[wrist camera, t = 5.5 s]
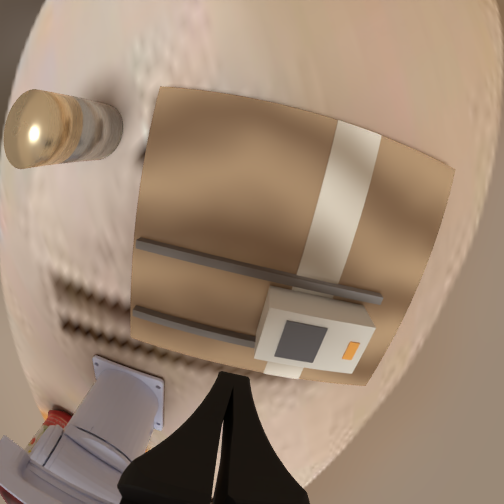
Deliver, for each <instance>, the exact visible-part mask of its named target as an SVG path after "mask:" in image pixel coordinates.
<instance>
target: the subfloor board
mask: <svg viewBox="0 0 504 504" xmlns="http://www.w3.org/2000/svg"><path fill="white" fill-rule="evenodd" d="M454 173H455V169H453V168H452V167H450V166H448V165H446V164H444V163H442V162H440V161H438V160H436V159H434V158H432V157H430V156H428V155H425V154H423V153H421V152H419V151H417V150H415V149H412V148H410V147H408V146H406V145H403V144H401V143H399V142H396V141H394V140H391V139H389V138H386V137H384V136H382V135H379V134H377V133H374V132H372V131H369V130H366V129H363V128H361V127H358V126H355V125H352V124H349V123H346V122H343V121H340V120H336V119H333V118H329V117H326V116H323V115H319V114H316V113H312V112H309V111H305V110H301V109H297V108H293V107H289V106H285V105H281V104H277V103H272V102H268V101H263V100H258V99H253V98H248V97H243V96H237V95H231V94H225V93H218V92H211V91H203V90H195V89H185V88H175V87H161V86H160V89H159V93H158V97H157V101H156V105H155V109H154V114H153V118H152V123H151V127H150V132H149V137H148V142H147V147H146V153H145V158H144V164H143V170H142V176H141V183H140V190H139V197H138V205H137V213H136V223H135V233H134V244H133V258H132V276H131V312H130V326H131V338H133V339H136V340H139V341H142V342H146V343H149V344H152V345H155V346H158V347H161V348H165V349H168V350H171V351H175V352H178V353H182V354H185V355H189V356H193V357H197V358H200V359H204V360H208V361H212V362H216V363H221V364H225V365H229V366H234V367H238V368H243V369H248V370H253V371H258V372H263V373H264V374H269V375H275V376H281V377H287V378H293V379H305V380H312V381H320V382H328V383H337V384H347V385H359V386H366V384H367V383H368V381H369V379H370V378H371V376H372V374H373V373H374V371H375V369H376V368H377V366H378V364H379V363H380V361H381V359H382V357H383V356H384V354H385V352H386V350H387V349H388V347H389V345H390V343H391V341H392V339H393V337H394V335H395V334H396V332H397V330H398V328H399V326H400V324H401V322H402V320H403V318H404V316H405V313H406V311H407V309H408V307H409V305H410V303H411V301H412V298H413V296H414V294H415V292H416V289H417V287H418V285H419V282H420V280H421V277H422V275H423V272H424V270H425V267H426V265H427V262H428V260H429V257H430V254H431V251H432V249H433V246H434V243H435V240H436V237H437V234H438V231H439V228H440V225H441V222H442V218H443V215H444V212H445V208H446V205H447V201H448V197H449V194H450V190H451V186H452V182H453V177H454ZM270 285H271V286H276V287H280V288H284V289H289V290H293V291H298V292H303V293H307V294H312V295H316V296H321V297H326V298H331V299H335V300H340V301H345V302H350V303H355V304H360V305H364V307H365V309H366V311H367V312H368V314H369V316H370V318H371V320H372V321H373V323H374V325H375V327H376V329H375V331H374V333H373V335H372V337H371V339H370V341H369V343H368V345H367V347H366V349H365V351H364V353H363V354H362V356H361V358H360V360H359V362H358V364H357V365H356V367H355V369H354V371H353V373H352V374H349V373H340V372H332V371H324V370H317V369H310V368H304V367H298V366H291V365H286V364H280V363H274V362H269V361H264V360H259V359H254V351H255V340H256V332H257V328H258V325H259V321H260V318H261V314H262V311H263V307H264V304H265V301H266V297H267V293H268V290H269V286H270Z"/></svg>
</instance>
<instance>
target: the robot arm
mask: <svg viewBox="0 0 504 504" xmlns="http://www.w3.org/2000/svg"><path fill="white" fill-rule="evenodd" d="M92 360H93V366H94V371H95V377H96V381H95V383H94V384H93V386H92V387H91V389H90V390H89V392H88V393H87V395H86V396H85V398H84V399H83V401H82V402H81V404H80V405H79V407H78V408H77V410H76V411H75V413H74V415H73V416H72V418H71V419H70V421H69V422H68V424H67V425H66V427H64V428H62V427H61V426H59V425H50V426H49V427H48V428H47V429H46V430H45V432H44V433H43V434H42V436H41V437H40V439H39V440H38V442H37V443H36V445H35V446H34V448H33V449H32V451H31V452H30V454H29V455H28V453H27V452H26V451H25V450H24V449H22V448H21V447H20V446H19V445H17V444H16V443H15V442H13V441H12V440H11V439H9V438H8V437H7V436H3V437H2V439H1V440H0V485H1V486H2V487H3V488H4V489H5V490H7V491H8V492H9V493H10V494H12V495H13V496H14V497H16V498H17V499H18V500H20V501H21V502H22V503H24V504H210V501H211V496H212V488H213V480H214V473H215V466H216V459H217V452H218V445H219V439H220V433H221V427H222V423H223V433H222V446H221V459H220V466H219V471H218V476H217V482H216V487H215V492H214V497H213V502H212V504H310V503H309V498H308V495H307V492H306V491H305V490H304V489H303V488H302V487H301V486H300V485H299V484H298V483H297V481H296V480H295V479H294V478H293V477H292V476H291V474H290V473H289V472H288V471H287V469H286V468H285V466H284V465H283V463H282V462H281V461H280V459H279V458H278V456H277V455H276V453H275V451H274V450H273V448H272V446H271V444H270V442H269V440H268V438H267V436H266V434H265V432H264V430H263V427H262V425H261V422H260V420H259V417H258V414H257V411H256V408H255V404H254V401H253V397H252V392H251V387H250V379H249V378H248V377H246V376H241V375H237V374H232V373H227V372H223V371H221V372H219V374H218V377H217V379H216V381H215V383H214V385H213V387H212V388H211V390H210V392H209V393H208V395H207V396H206V398H205V399H204V400H203V402H202V403H201V404H200V406H199V407H198V408H197V409H196V410H195V412H194V413H193V414H192V415H191V416H190V417H189V418H188V419H187V421H186V422H185V423H184V424H183V425H181V426H180V427H179V428H178V429H177V430H176V431H175V432H174V433H173V434H171V435H170V436H169V437H168V438H166V439H165V440H164V441H162V442H161V443H160V444H158V445H157V446H155V447H154V448H152V449H151V450H149V451H148V452H146V453H145V450H146V448H147V445H148V442H149V440H150V437H151V435H152V432H153V430H154V429H156V430H162V429H163V405H164V381H163V380H162V379H160V378H157V377H154V376H151V375H148V374H145V373H142V372H139V371H136V370H133V369H131V368H128V367H125V366H122V365H120V364H117V363H114V362H112V361H109V360H107V359H104V358H102V357H99V356H97V355H94V357H93V358H92ZM223 420H224V421H223Z"/></svg>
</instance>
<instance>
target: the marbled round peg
mask: <svg viewBox="0 0 504 504" xmlns="http://www.w3.org/2000/svg"><path fill="white" fill-rule="evenodd" d="M122 132H123V122H122V118H121V115H120V113H119V112H118V110H117V109H116V108H114V107H113V106H111V105H108V104H104V103H100V102H96V101H92V100H87V99H83V98H78V97H74V96H69V95H64V94H59V93H53V92H48V91H42V90H36V89H32V90H29V91H27V92H25V93H23V94H22V95H21V96H20V97H19V98H18V99H17V100H16V102H15V103H14V105H13V106H12V108H11V110H10V112H9V115H8V117H7V120H6V124H5V129H4V149H5V153H6V156H7V158H8V160H9V162H10V163H11V164H12V165H13V166H14V167H15V168H18V169H25V168H31V167H38V166H45V165H53V164H61V163H70V162H80V161H91V160H101V159H104V158H106V157H108V156H109V155H110V154H112V152H113V151H114V150H115V149H116V148H117V146H118V144H119V142H120V140H121V137H122Z"/></svg>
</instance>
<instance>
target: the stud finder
mask: <svg viewBox="0 0 504 504" xmlns="http://www.w3.org/2000/svg"><path fill="white" fill-rule="evenodd" d="M375 329H376V327H375V325H374V323H373V321H372V320H371V318H370V316H369V314H368V312H367V311H366V309H365V307H364V305H360V304H355V303H350V302H345V301H340V300H335V299H331V298H326V297H321V296H316V295H312V294H307V293H303V292H298V291H293V290H289V289H284V288H280V287H276V286H271V285H270V286H269V290H268V293H267V297H266V301H265V304H264V307H263V311H262V314H261V318H260V321H259V325H258V328H257V332H256V340H255V351H254V359H259V360H264V361H269V362H274V363H280V364H286V365H291V366H298V367H304V368H310V369H317V370H324V371H332V372H340V373H349V374H352V373H353V371H354V369H355V367H356V365H357V364H358V362H359V360H360V358H361V356H362V354H363V353H364V351H365V349H366V347H367V345H368V343H369V341H370V339H371V337H372V335H373V333H374V331H375Z"/></svg>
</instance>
